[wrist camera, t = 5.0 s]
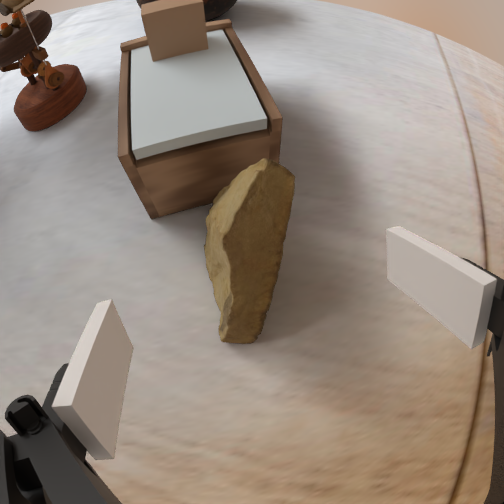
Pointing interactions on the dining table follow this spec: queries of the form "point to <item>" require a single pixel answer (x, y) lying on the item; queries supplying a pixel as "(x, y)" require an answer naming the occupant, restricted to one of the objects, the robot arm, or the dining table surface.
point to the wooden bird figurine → (37, 69)
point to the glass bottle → (207, 7)
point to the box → (195, 145)
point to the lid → (187, 82)
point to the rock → (248, 246)
